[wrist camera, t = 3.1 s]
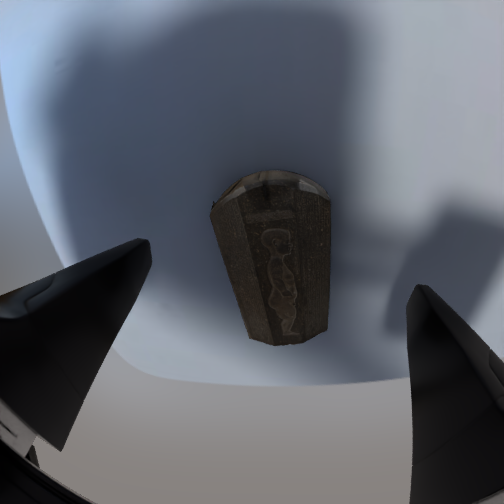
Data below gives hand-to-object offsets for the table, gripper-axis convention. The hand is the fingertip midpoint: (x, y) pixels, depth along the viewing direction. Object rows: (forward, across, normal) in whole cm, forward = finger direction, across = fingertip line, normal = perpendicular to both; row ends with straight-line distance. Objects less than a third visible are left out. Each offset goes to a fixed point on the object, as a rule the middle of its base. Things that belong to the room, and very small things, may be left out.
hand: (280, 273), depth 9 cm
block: (+2, 0, 0) cm, 2 cm away
